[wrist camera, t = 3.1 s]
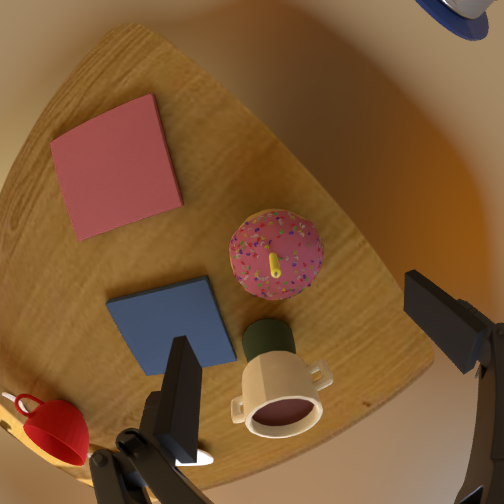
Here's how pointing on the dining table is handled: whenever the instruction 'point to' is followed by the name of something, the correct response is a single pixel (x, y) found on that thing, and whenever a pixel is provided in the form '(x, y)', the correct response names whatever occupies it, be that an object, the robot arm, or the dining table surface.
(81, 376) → the dining table surface
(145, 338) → the blue mat
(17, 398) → the ceramic cup
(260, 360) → the character mug
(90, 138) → the rose mat
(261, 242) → the cupcake
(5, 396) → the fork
